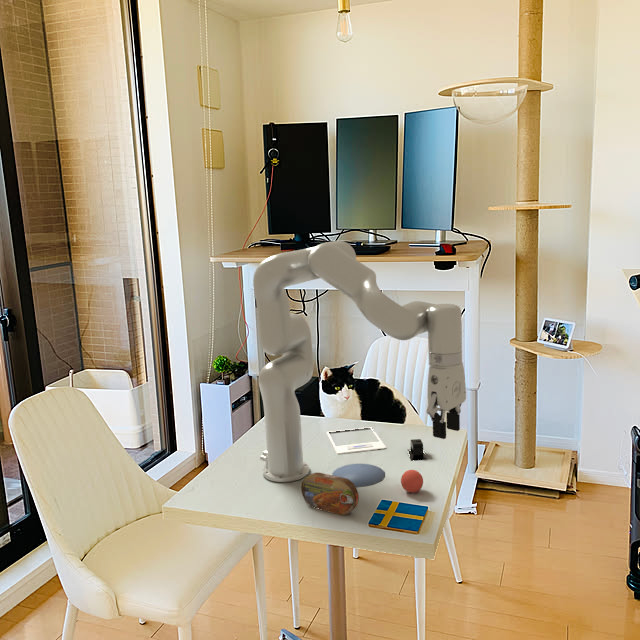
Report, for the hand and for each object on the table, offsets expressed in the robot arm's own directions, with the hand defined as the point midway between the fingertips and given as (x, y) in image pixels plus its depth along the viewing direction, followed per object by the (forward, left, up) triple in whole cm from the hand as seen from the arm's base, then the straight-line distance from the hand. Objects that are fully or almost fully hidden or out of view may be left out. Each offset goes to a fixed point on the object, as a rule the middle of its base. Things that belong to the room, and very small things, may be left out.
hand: (446, 432), depth 152 cm
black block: (-22, +20, -18) cm, 35 cm away
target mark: (-27, 0, -17) cm, 32 cm away
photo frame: (-43, +19, -18) cm, 50 cm away
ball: (-10, 0, -15) cm, 18 cm away
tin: (-21, -19, -18) cm, 33 cm away
